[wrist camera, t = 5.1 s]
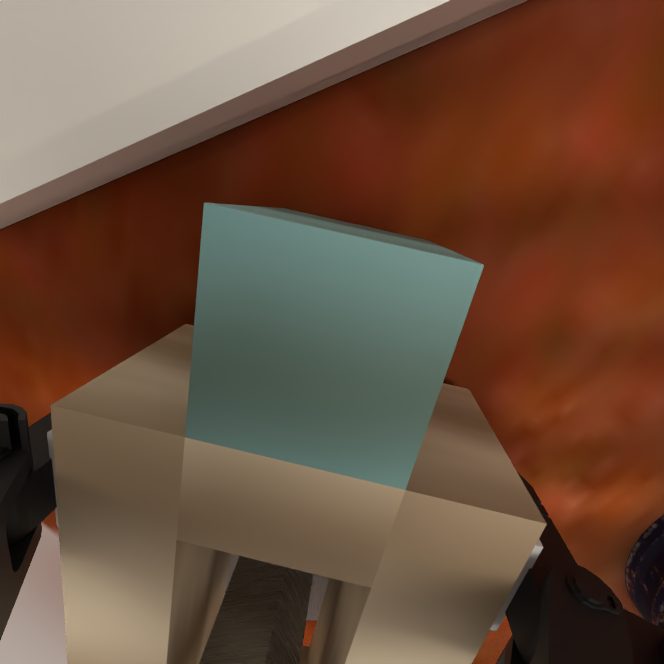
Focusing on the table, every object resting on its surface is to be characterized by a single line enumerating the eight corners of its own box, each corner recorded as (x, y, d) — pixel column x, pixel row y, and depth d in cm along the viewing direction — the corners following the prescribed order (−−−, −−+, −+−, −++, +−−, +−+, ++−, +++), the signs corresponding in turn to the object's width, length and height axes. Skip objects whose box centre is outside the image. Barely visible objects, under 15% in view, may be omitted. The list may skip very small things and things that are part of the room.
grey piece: (173, 425, 16) (-176, 812, 6) (361, 377, 14) (341, 808, 4) (249, 567, 19) (100, 1009, 8) (417, 540, 17) (492, 1060, 7)
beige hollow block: (195, 188, 10) (34, 165, 5) (517, 260, 10) (665, 304, 5) (162, 647, 16) (78, 823, 12) (352, 695, 16) (346, 894, 11)
